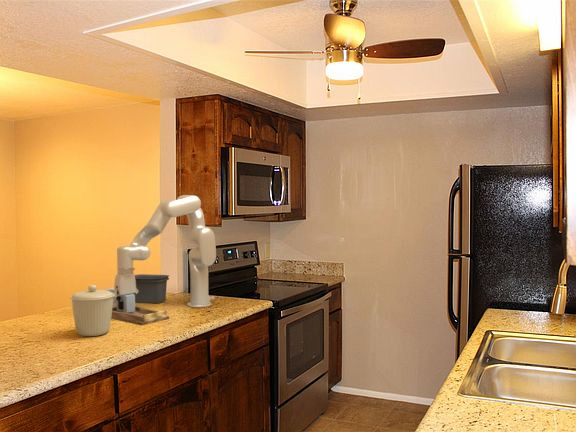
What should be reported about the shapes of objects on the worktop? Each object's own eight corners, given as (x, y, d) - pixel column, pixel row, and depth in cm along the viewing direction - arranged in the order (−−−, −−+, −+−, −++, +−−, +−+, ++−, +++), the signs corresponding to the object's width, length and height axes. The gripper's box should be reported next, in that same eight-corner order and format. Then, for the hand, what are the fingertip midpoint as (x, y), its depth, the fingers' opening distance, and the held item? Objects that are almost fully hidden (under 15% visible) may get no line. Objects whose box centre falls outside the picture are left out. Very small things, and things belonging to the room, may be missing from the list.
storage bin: (124, 303, 298) (124, 277, 298) (138, 297, 313) (138, 273, 313) (161, 305, 294) (160, 278, 293) (173, 299, 309) (172, 274, 308)
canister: (81, 328, 243) (80, 281, 242) (121, 328, 243) (120, 281, 242) (63, 339, 225) (62, 288, 224) (106, 339, 225) (105, 288, 224)
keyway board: (129, 310, 279) (129, 302, 279) (169, 318, 262) (169, 310, 261) (102, 316, 266) (102, 307, 266) (142, 325, 249) (142, 316, 248)
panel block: (125, 308, 273) (124, 292, 272) (135, 310, 268) (135, 294, 268) (116, 310, 269) (116, 294, 268) (126, 312, 264) (126, 296, 264)
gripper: (134, 268, 277) (135, 304, 277) (105, 272, 263) (106, 310, 264) (144, 270, 272) (144, 306, 273) (115, 274, 258) (115, 312, 259)
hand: (125, 307), depth 268 cm, fingers closed on panel block, 5 cm apart
